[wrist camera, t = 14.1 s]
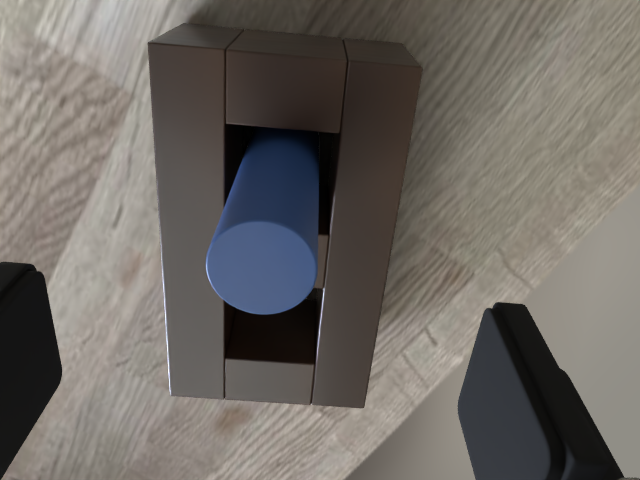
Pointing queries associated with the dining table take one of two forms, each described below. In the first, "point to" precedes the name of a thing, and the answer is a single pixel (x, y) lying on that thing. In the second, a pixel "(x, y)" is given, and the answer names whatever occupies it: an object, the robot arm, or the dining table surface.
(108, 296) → the dining table surface
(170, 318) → the holder
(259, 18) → the dining table surface
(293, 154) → the blue cylinder
